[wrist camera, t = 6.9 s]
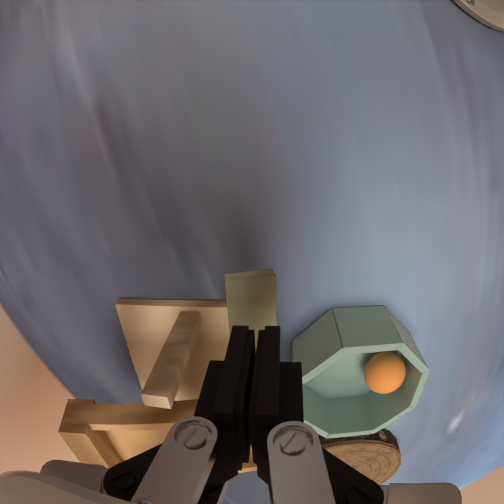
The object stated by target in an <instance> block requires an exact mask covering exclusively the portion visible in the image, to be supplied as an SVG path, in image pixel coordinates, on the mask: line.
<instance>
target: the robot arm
mask: <svg viewBox="0 0 504 504" xmlns="http://www.w3.org/2000/svg"><path fill="white" fill-rule="evenodd" d="M453 1H454V2H455V3H456V4H457V5H458V6H459V7H461V8H462V9H463V10H464V11H466V12H467V13H468V14H469V15H471V16H472V17H473V18H475V19H476V20H478V21H480V22H481V23H483V24H484V25H487V26H489V27H491V28H493V29H495V30H498V31H502V32H504V0H453ZM251 446H252V456H253V463H254V464H257V475H258V476H259V477H260V478H261V479H262V480H263V481H264V482H265V483H267V484H268V488H269V497H270V504H462V497H461V493H460V490H459V489H458V488H457V486H455V485H453V484H451V483H390V484H389V485H378V484H377V483H376V482H375V481H373V480H371V479H370V478H368V477H367V476H365V475H363V474H362V473H360V472H359V471H357V470H355V469H354V468H352V467H351V466H349V465H348V464H346V463H345V462H343V461H342V460H340V459H339V458H337V457H336V456H334V455H333V454H331V453H330V452H328V451H327V450H326V449H324V448H323V447H321V444H320V440H319V436H318V434H317V432H316V431H315V430H314V429H313V428H312V427H311V426H310V425H308V424H306V423H304V412H303V385H302V364H301V362H280V326H265V329H264V330H259V332H258V340H257V348H255V331H254V330H249V326H243V325H233V326H232V330H231V334H230V339H229V343H228V347H227V351H226V355H225V359H224V361H221V360H210V362H209V364H208V368H207V371H206V375H205V378H204V381H203V385H202V388H201V392H200V395H199V399H198V402H197V406H196V409H195V412H194V416H193V417H186V418H183V419H181V420H179V421H178V422H176V423H175V424H174V425H173V426H172V427H171V429H170V430H169V432H168V434H167V436H166V438H165V440H164V441H163V443H161V444H159V445H157V446H155V447H153V448H151V449H149V450H147V451H145V452H143V453H141V454H138V455H136V456H134V457H132V458H130V459H127V460H125V461H123V462H121V463H118V464H116V465H114V466H113V467H111V468H105V466H104V465H97V464H87V463H77V462H69V461H62V460H51V461H49V462H47V463H46V464H45V465H43V467H42V469H41V471H40V473H38V472H32V471H8V472H4V473H2V474H0V504H222V501H223V498H224V495H225V493H226V490H227V487H228V484H229V480H230V479H231V478H233V477H234V476H236V475H238V471H242V466H243V463H249V457H250V449H251Z"/></svg>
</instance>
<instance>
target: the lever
mask: <svg viewBox="0 0 504 504" xmlns="http://www.w3.org/2000/svg"><path fill="white" fill-rule="evenodd" d="M224 279H225V289H226V300H227V310H228V320H229V330H230V334H231V330H232V326H233V325H243V326H249V330H254V331H255V348H257V340H258V332H259V330H264V329H265V326H277V315H276V275H275V273H274V271H273V270H272V269H265V270H257V271H248V272H240V273H231V274H224ZM197 402H198V399H192V400H181V401H175V400H174V402H173V405H172V408H171V409H167V408H159V407H152V406H145V404H144V403H128V404H96V402H95V400H84V399H68V402H67V405H66V408H65V412H64V415H63V418H62V421H61V425H60V428H59V433H60V435H61V436H62V438H63V439H64V440H65V442H66V443H67V445H68V446H69V447H70V448H71V450H72V451H73V453H74V454H75V455H76V457H77V458H78V459H79V461H80V462H81V463H87V464H97V465H104V466H105V468H111V467H113V466H114V465H116V464H118V463H121V462H123V461H125V460H127V459H130V458H132V457H134V456H136V455H138V454H141V453H143V452H145V451H147V450H149V449H151V448H153V447H155V446H157V445H159V444H161V443H163V441H164V440H165V438H166V436H167V434H168V432H169V430H170V429H171V427H172V426H173V425H174V424H175V423H176V422H178V421H179V420H181V419H183V418H186V417H193V416H194V412H195V409H196V406H197ZM255 470H257V464H254V463H253V456H252V446H251V449H250V457H249V463H243V466H242V471H238V473H243V472H249V471H255Z"/></svg>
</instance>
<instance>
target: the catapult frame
mask: <svg viewBox="0 0 504 504" xmlns="http://www.w3.org/2000/svg"><path fill="white" fill-rule="evenodd" d="M115 305H116V309H117V312H118V316H119V320H120V323H121V327H122V330H123V333H124V337H125V340H126V343H127V346H128V350H129V353H130V356H131V359H132V362H133V365H134V368H135V371H136V373H137V376H138V379H139V382H140V385H141V387H142V392H141V396H142V399H143V401H144V404H145V406H152V407H159V408H167V409H171V408H172V405H173V402H174V400H175V401H181V400H192V399H199V395H200V392H201V388H202V385H203V381H204V378H205V375H206V371H207V368H208V364H209V362H210V360H221V361H224V359H225V355H226V351H227V347H228V343H229V339H230V330H229V320H228V310H227V301H200V300H153V299H125V298H120V299H119V300H118V301H117V303H116V304H115Z"/></svg>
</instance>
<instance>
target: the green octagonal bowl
mask: <svg viewBox="0 0 504 504" xmlns="http://www.w3.org/2000/svg"><path fill="white" fill-rule="evenodd" d="M381 352H392V353H395V354H397V355H398V356H399V357H400V358H401V359H402V360H403V362H404V364H405V368H406V374H405V378H404V381H403V383H402V384H401V385H400V387H398V388H397V389H396V390H395V391H393V392H390V393H387V394H380V393H376V392H374V391H372V390H371V389H370V388H369V387H368V386H367V384H366V382H365V379H364V370H365V366H366V364H367V363H368V361H369V360H370V359H371V358H372V357H373V356H374V355H376V354H378V353H381ZM292 362H301V364H302V385H303V412H304V423H306V424H308V425H310V426H311V427H312V428H313V429H314V430H315V431H316V432H317V434H319V435H321V436H323V437H325V438H338V437H349V436H358V435H366V434H374V433H376V432H378V431H379V430H381V429H383V428H384V427H386V426H387V425H389V424H391V423H392V422H394V421H395V420H397V419H398V418H400V417H401V416H403V415H405V414H406V413H407V412H409V411H410V410H412V409H413V408H414V407H415V406H416V404H417V402H418V399H419V397H420V394H421V392H422V389H423V387H424V384H425V382H426V379H427V376H428V374H429V368H428V366H427V364H426V362H425V361H424V359H423V357H422V355H421V353H420V351H419V349H418V348H417V346H416V344H415V342H414V340H413V338H412V337H411V335H410V333H409V332H408V331H407V330H406V329H405V328H404V327H403V325H402V324H401V323H400V322H399V321H398V320H397V319H396V318H395V317H394V316H393V315H392V314H391V313H390V312H389V311H388V310H387V308H386V307H385V306H366V307H344V308H333V309H330V310H329V311H328V312H327V313H325V314H324V315H323V316H322V317H321V318H319V319H318V320H317V321H316V322H315V323H313V324H312V325H311V326H310V327H308V328H307V329H306V330H305V331H303V332H302V333H301V334H300V335H298V336H297V337H296V338H295V339H293V341H292Z"/></svg>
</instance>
